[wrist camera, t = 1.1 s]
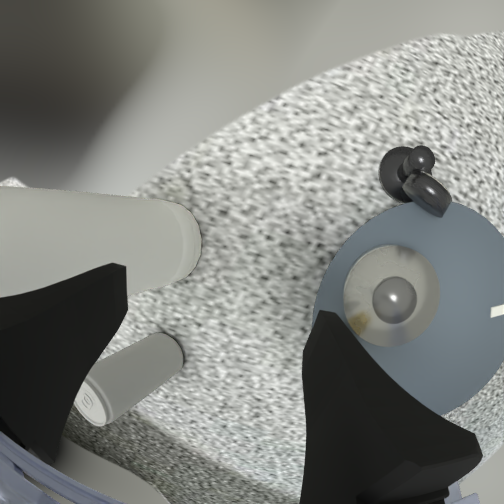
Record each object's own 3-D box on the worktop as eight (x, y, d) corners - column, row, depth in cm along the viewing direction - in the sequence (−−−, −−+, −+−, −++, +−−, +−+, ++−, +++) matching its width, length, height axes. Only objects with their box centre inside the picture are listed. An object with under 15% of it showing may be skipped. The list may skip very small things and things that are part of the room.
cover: (445, 280, 17) (461, 289, 14) (390, 349, 18) (396, 369, 15) (380, 225, 18) (387, 224, 15) (325, 298, 20) (321, 311, 17)
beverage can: (194, 356, 27) (115, 416, 16) (171, 379, 28) (97, 434, 17) (162, 322, 28) (74, 363, 17) (142, 347, 29) (62, 389, 18)
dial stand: (446, 178, 19) (479, 161, 12) (420, 220, 20) (448, 218, 13) (395, 138, 20) (412, 106, 13) (368, 180, 21) (377, 160, 14)
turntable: (539, 291, 15) (569, 304, 10) (414, 440, 19) (420, 474, 14) (404, 153, 18) (419, 133, 14) (269, 337, 23) (250, 363, 18)
